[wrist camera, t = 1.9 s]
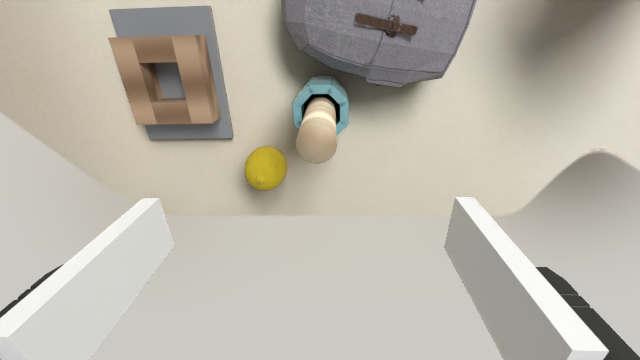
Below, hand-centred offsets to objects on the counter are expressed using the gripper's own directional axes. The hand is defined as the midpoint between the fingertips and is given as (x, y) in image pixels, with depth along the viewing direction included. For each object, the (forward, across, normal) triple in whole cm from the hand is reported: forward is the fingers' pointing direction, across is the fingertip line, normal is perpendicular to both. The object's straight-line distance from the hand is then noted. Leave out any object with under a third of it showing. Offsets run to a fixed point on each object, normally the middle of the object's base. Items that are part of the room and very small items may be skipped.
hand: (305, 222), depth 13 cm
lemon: (+28, -8, -8) cm, 30 cm away
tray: (+28, -19, +3) cm, 34 cm away
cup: (+28, 0, 0) cm, 28 cm away
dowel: (+27, 0, 0) cm, 27 cm away
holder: (+27, -19, +3) cm, 33 cm away
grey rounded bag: (+28, +6, +10) cm, 31 cm away
